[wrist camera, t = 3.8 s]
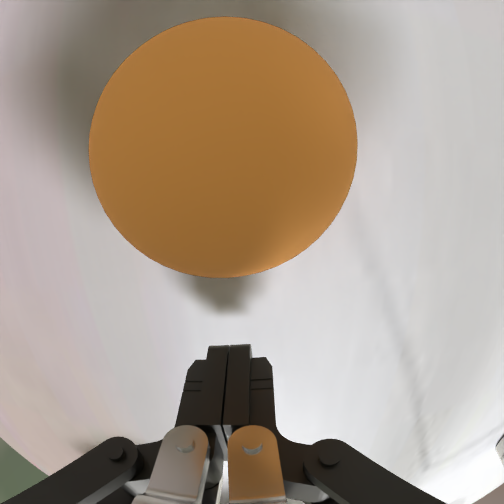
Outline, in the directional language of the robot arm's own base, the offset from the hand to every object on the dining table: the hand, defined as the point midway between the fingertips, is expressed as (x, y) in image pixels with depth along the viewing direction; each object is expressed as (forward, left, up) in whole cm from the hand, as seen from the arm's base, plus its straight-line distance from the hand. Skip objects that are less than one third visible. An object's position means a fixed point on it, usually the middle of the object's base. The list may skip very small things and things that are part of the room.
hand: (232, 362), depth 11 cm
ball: (-1, -8, +1) cm, 8 cm away
